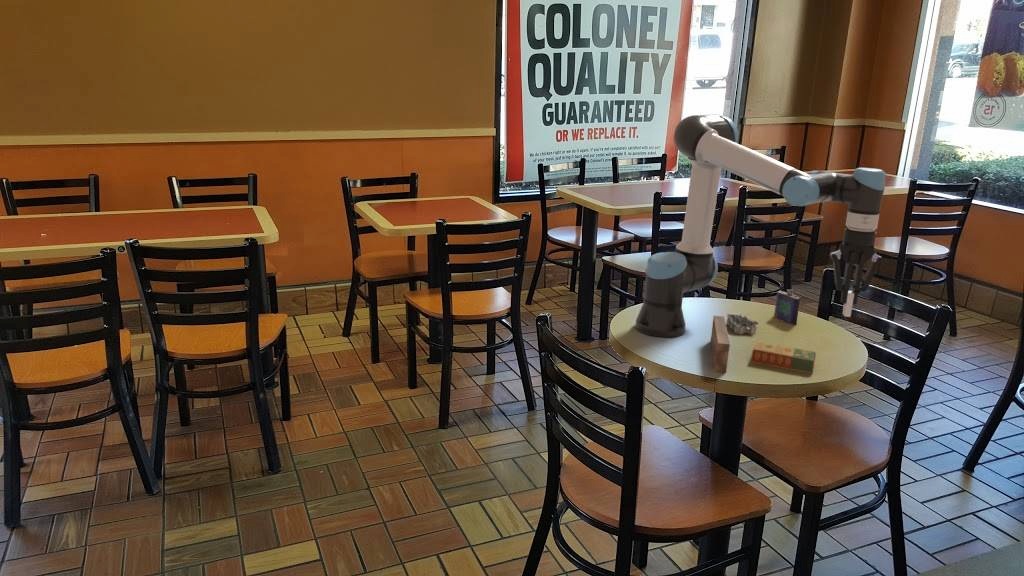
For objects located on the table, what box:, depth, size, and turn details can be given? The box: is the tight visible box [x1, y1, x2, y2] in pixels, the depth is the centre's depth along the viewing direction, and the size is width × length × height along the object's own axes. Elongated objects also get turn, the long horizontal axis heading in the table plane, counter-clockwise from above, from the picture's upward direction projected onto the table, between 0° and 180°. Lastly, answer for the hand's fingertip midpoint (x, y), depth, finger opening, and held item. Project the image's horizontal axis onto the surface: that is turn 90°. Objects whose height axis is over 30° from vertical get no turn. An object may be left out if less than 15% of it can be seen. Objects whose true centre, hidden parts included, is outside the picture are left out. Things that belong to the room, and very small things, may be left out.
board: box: [710, 315, 731, 373], centre depth 207 cm, size 3×24×8 cm, turn 168°
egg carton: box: [726, 313, 759, 335], centre depth 231 cm, size 11×8×4 cm
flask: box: [773, 289, 801, 326], centre depth 239 cm, size 9×3×11 cm, turn 24°
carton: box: [750, 340, 817, 375], centre depth 204 cm, size 8×16×4 cm, turn 65°
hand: (846, 315), depth 197 cm, fingers closed
